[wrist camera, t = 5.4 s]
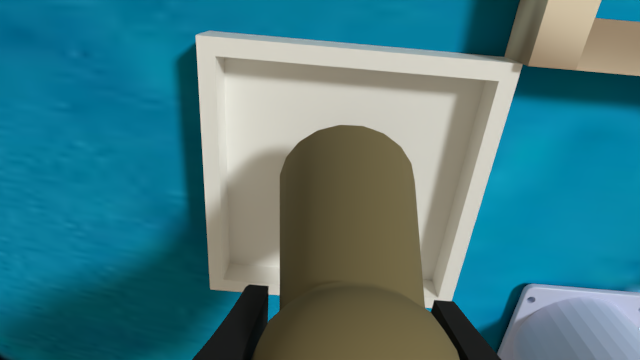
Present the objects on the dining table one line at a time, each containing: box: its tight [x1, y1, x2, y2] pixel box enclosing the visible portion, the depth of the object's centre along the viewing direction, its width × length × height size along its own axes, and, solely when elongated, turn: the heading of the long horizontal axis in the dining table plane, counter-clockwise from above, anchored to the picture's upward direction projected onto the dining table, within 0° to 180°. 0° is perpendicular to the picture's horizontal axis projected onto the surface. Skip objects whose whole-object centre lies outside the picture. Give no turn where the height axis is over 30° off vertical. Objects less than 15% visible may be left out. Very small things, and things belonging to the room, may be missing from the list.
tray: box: [196, 31, 523, 308], centre depth 20 cm, size 14×14×2 cm
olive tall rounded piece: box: [251, 125, 460, 360], centre depth 13 cm, size 6×6×11 cm
